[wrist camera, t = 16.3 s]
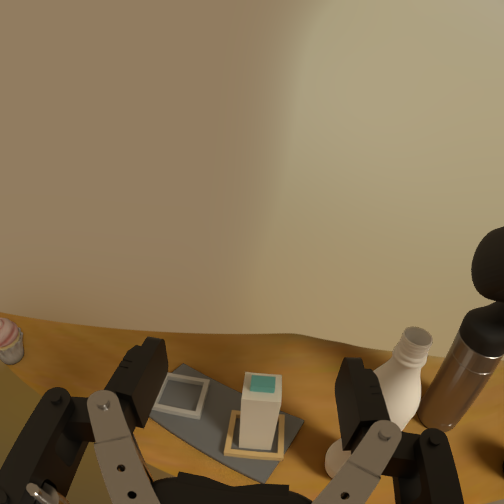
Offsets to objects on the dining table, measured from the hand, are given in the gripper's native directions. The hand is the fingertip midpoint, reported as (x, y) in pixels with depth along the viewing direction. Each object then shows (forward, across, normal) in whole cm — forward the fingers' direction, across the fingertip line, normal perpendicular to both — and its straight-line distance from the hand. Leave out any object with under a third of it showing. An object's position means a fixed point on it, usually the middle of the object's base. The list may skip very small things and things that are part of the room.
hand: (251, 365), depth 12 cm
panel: (+17, +5, +30) cm, 35 cm away
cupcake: (+17, +51, +30) cm, 61 cm away
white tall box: (+14, -1, +29) cm, 33 cm away
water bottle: (+9, -14, +30) cm, 35 cm away
